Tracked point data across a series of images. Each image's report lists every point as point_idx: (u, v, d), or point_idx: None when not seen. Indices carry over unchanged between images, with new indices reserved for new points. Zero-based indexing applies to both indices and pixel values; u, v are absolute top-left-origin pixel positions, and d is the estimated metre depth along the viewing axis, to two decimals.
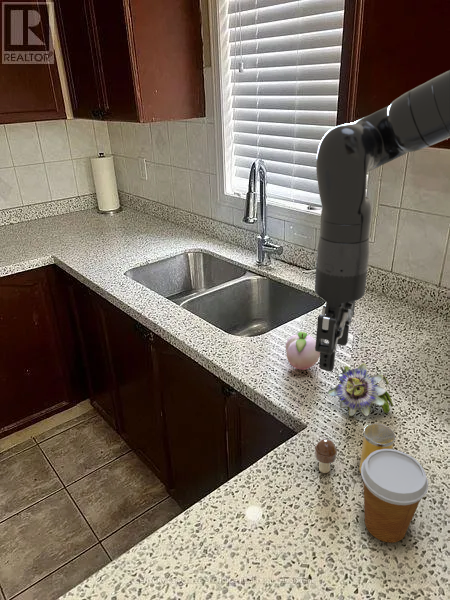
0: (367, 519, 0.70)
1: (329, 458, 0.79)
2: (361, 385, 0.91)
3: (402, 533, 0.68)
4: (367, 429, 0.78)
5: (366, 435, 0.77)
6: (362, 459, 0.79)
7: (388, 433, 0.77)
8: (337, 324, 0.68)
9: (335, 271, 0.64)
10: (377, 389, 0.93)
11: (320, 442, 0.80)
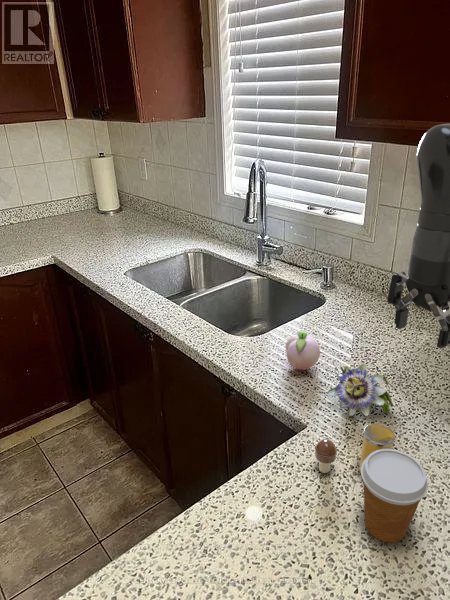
0: (367, 519, 0.70)
1: (329, 458, 0.79)
2: (361, 385, 0.91)
3: (402, 533, 0.68)
4: (367, 429, 0.78)
5: (366, 435, 0.77)
6: (362, 459, 0.79)
7: (388, 433, 0.77)
8: (445, 303, 0.76)
9: None
10: (377, 389, 0.93)
11: (320, 442, 0.80)
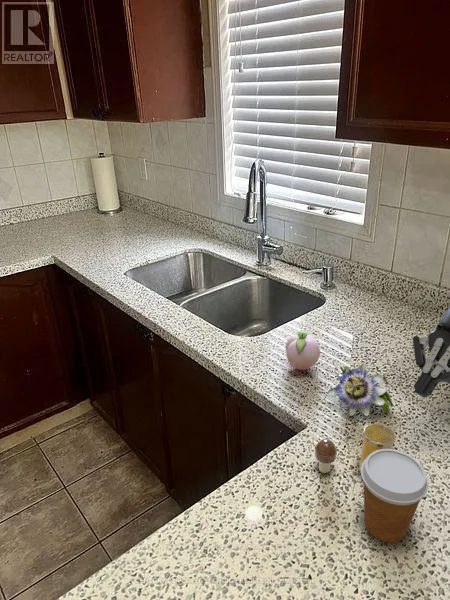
0: (367, 519, 0.70)
1: (329, 458, 0.79)
2: (361, 385, 0.91)
3: (402, 533, 0.68)
4: (367, 429, 0.78)
5: (366, 435, 0.77)
6: (362, 459, 0.79)
7: (388, 433, 0.77)
8: None
9: None
10: (377, 389, 0.93)
11: (320, 442, 0.80)
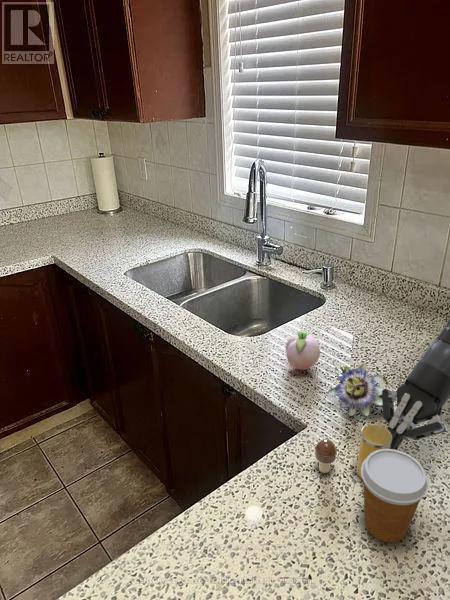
0: (367, 519, 0.70)
1: (329, 458, 0.79)
2: (361, 385, 0.91)
3: (402, 533, 0.68)
4: (364, 430, 0.78)
5: (363, 436, 0.77)
6: (359, 460, 0.79)
7: (385, 434, 0.77)
8: None
9: None
10: (377, 389, 0.93)
11: (320, 442, 0.80)
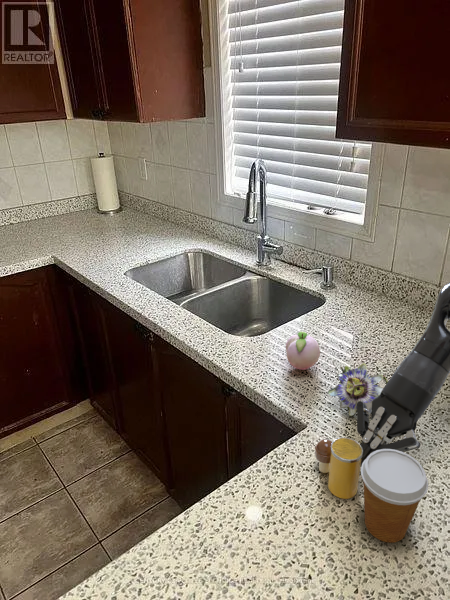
0: (367, 519, 0.70)
1: (329, 458, 0.79)
2: (361, 385, 0.91)
3: (402, 533, 0.68)
4: (335, 443, 0.76)
5: (332, 449, 0.75)
6: (329, 473, 0.77)
7: (356, 449, 0.74)
8: (402, 434, 0.76)
9: (435, 393, 0.75)
10: (377, 389, 0.93)
11: (320, 442, 0.80)
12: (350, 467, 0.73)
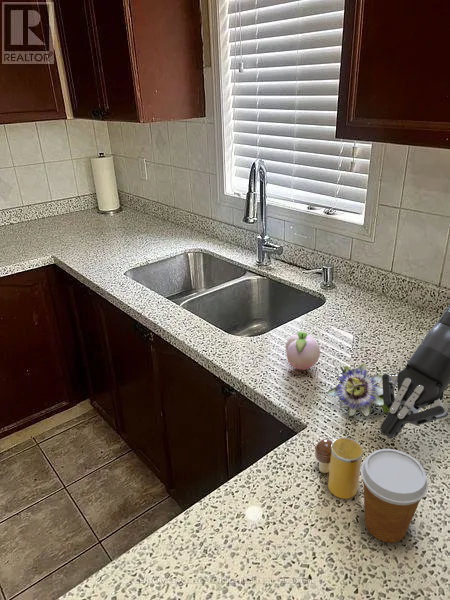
0: (367, 519, 0.70)
1: (329, 458, 0.79)
2: (361, 385, 0.91)
3: (402, 533, 0.68)
4: (335, 443, 0.76)
5: (332, 449, 0.75)
6: (329, 473, 0.77)
7: (356, 449, 0.74)
8: (429, 404, 0.77)
9: None
10: (377, 389, 0.93)
11: (320, 442, 0.80)
12: (350, 467, 0.73)
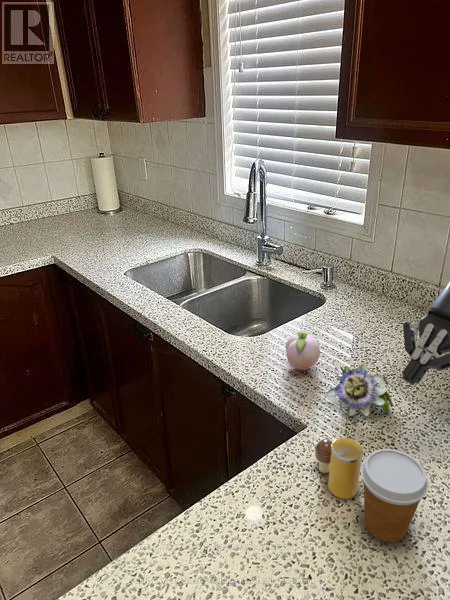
0: (367, 519, 0.70)
1: (329, 458, 0.79)
2: (361, 385, 0.91)
3: (402, 533, 0.68)
4: (335, 443, 0.76)
5: (332, 449, 0.75)
6: (329, 473, 0.77)
7: (356, 449, 0.74)
8: None
9: None
10: (377, 389, 0.93)
11: (320, 442, 0.80)
12: (350, 467, 0.73)
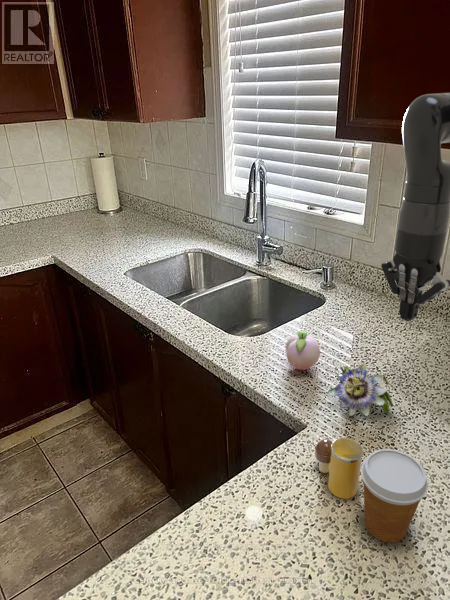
0: (367, 519, 0.70)
1: (329, 458, 0.79)
2: (361, 385, 0.91)
3: (402, 533, 0.68)
4: (335, 443, 0.76)
5: (332, 449, 0.75)
6: (329, 473, 0.77)
7: (356, 449, 0.74)
8: (432, 278, 0.75)
9: (443, 229, 0.71)
10: (377, 389, 0.93)
11: (320, 442, 0.80)
12: (350, 467, 0.73)
